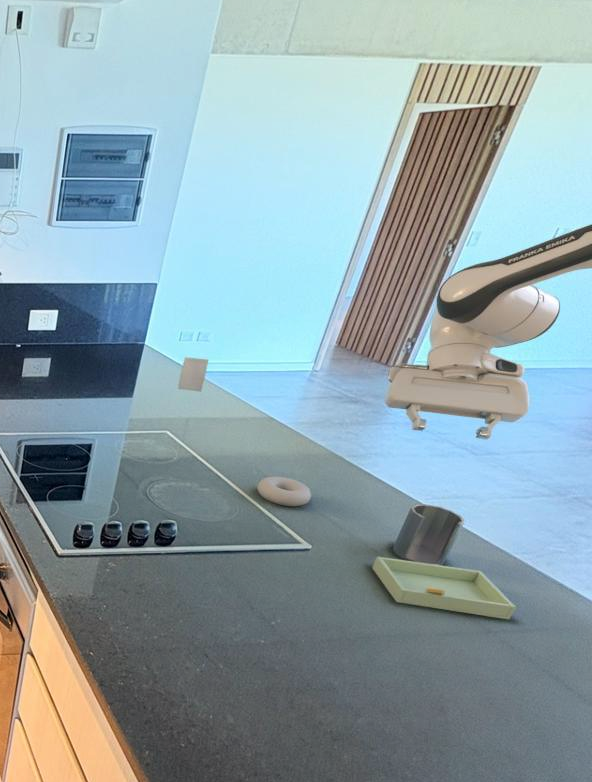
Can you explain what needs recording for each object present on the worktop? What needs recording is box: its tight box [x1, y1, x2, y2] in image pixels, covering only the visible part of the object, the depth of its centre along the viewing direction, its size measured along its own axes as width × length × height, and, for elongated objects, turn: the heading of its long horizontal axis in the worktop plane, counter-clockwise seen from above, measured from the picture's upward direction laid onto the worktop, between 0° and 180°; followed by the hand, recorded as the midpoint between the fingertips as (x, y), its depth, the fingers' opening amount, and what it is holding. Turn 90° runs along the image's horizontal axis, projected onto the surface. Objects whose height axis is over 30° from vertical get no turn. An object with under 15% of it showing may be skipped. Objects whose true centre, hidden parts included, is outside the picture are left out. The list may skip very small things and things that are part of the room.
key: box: [426, 589, 444, 594], centre depth 101 cm, size 5×2×1 cm
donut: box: [256, 476, 312, 507], centre depth 133 cm, size 10×4×10 cm
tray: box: [371, 556, 517, 620], centre depth 104 cm, size 15×10×2 cm
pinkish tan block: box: [177, 356, 209, 392], centre depth 198 cm, size 4×7×10 cm, turn 66°
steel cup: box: [393, 503, 465, 566], centre depth 112 cm, size 7×7×9 cm
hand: (450, 433), depth 114 cm, fingers open, 8 cm apart
